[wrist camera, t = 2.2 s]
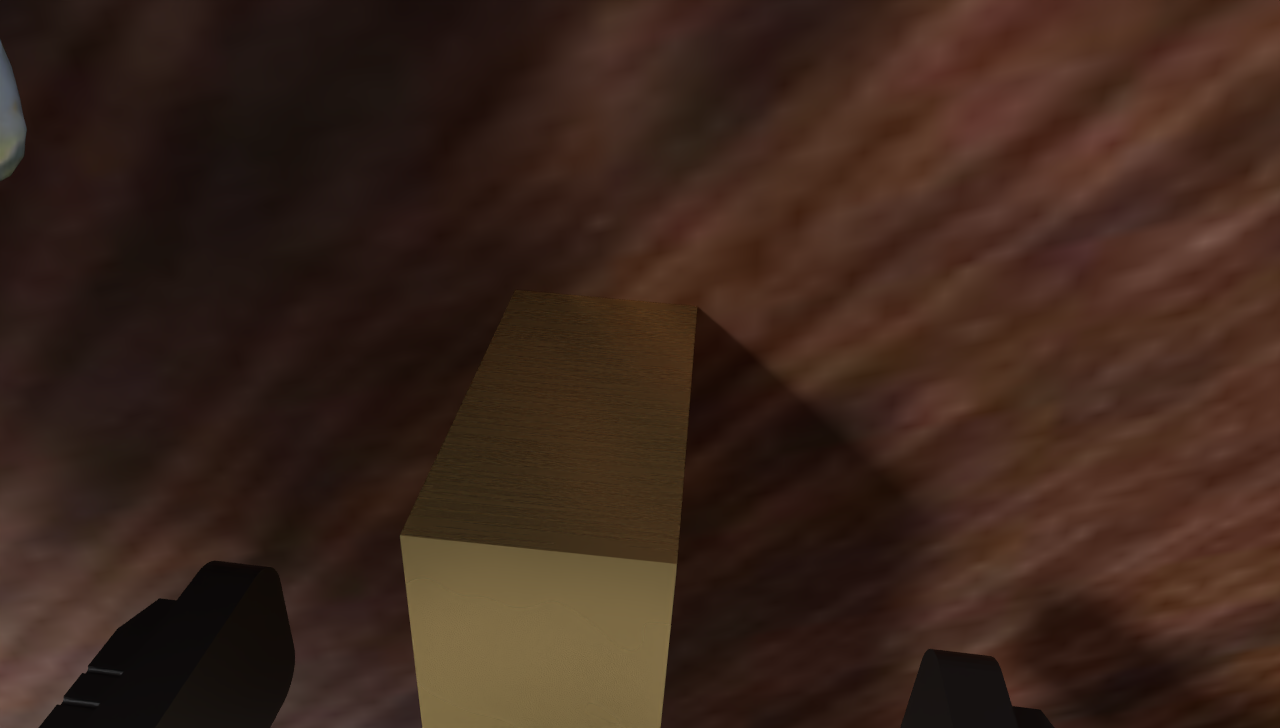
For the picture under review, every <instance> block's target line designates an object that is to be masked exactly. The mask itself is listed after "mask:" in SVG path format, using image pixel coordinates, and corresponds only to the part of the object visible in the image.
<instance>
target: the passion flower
mask: <svg viewBox="0 0 1280 728" xmlns="http://www.w3.org/2000/svg"><path fill="white" fill-rule="evenodd" d="M26 132H27V128H26V124H25V120H24V116H23V112H22V107H21V101H20V96H19V92H18V88H17V85H16V81H15V77H14V74H13V70H12V66H11V64H10V61H9V59H8V57H7V54H6V52H5V49H4V47H3V44H2V43H1V40H0V181H2V180H4V179H5V178H7V177H9V176H11V174H12V173H13V172H14V170H15V169H16V167H17V166H18V164H19V163H20V161H21V160H22V159H23V157H24V153H25V138H26Z"/></svg>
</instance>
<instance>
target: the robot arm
mask: <svg viewBox="0 0 1280 728" xmlns="http://www.w3.org/2000/svg"><path fill="white" fill-rule="evenodd" d="M294 665H295V650H294V644H293V640H292V635H291V630H290V625H289V621H288V616H287V611H286V606H285V601H284V597H283V592H282V587H281V582H280V578H279V575H278V573H277V571H276V570H275V569H273V568H271V567H263V566H254V565H246V564H238V563H229V562H221V561H211V562H209V563H207V564H206V565H205V566H203V567H202V568H201V569H200V571H199V572H198V573H197V574H196V576H195V577H194V578H193V580H192V581H191V582H190V584H189V585H188V586H187V588H186V589H185V590H184V592H183V593H182V594H181V596H180V597H179V598H178V600H177V601H176V600H168V599H160V598H159V599H158V600H157V601H155V602H154V603H153V604H151V605H150V606H148V607H147V608H146V609H144V610H143V611H141V612H140V613H139V614H137V615H136V616H134V617H133V618H132V619H130V620H129V621H128V622H126V623H125V624H123V625H122V626H121V627H119V628H118V629H117V630H116V631H115V633H114V634H113V635H112V636H111V638H110V639H109V640H108V641H107V643H106V644H105V645H104V646H103V648H102V649H101V650H100V651H99V653H98V654H97V655H96V656H95V658H94V659H93V660H92V662H91V663H90V664H89V665H88V671H87V672H86V673H82V674H81V675H80V677H79V678H78V679H77V680H76V682H75V683H74V684H73V685H72V687H71V688H70V689H69V690H68V692H67V693H66V694H65V695H64V700H63V702H62V704H61V705H56V707H55V708H54V709H53V710H52V712H51V713H50V714H49V715H48V717H47V718H46V719H45V720H44V722H43V723H42V724H41V725H40V727H39V728H270V727H271V725H272V723H273V721H274V719H275V718H276V716H277V714H278V712H279V710H280V708H281V706H282V705H283V703H284V700H285V698H286V696H287V694H288V691H289V688H290V685H291V681H292V677H293V672H294ZM901 728H1054V727H1053V725H1052V724H1051V723H1050V721H1049V720H1048V719H1047V717H1046V716H1045V715H1044V714H1043V712H1042V711H1041V710H1039V709H1031V708H1023V707H1015V706H1012V704H1011V701H1010V698H1009V694H1008V691H1007V688H1006V684H1005V681H1004V678H1003V674H1002V671H1001V668H1000V666H999V664H998V662H997V661H996V659H995V658H993V657H991V656H984V655H976V654H968V653H959V652H951V651H943V650H934V649H928V650H927V651H926V652H925V654H924V656H923V658H922V661H921V664H920V668H919V671H918V674H917V677H916V680H915V683H914V687H913V690H912V693H911V696H910V699H909V702H908V705H907V709H906V712H905V715H904V718H903V721H902V724H901Z"/></svg>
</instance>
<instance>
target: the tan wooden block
mask: <svg viewBox="0 0 1280 728" xmlns="http://www.w3.org/2000/svg"><path fill="white" fill-rule="evenodd" d="M696 316H697V306H688V305H677V304H666V303H655V302H644V301H633V300H621V299H610V298H599V297H588V296H577V295H566V294H555V293H544V292H533V291H522V290H515V292H514V294H513V296H512V298H511V300H510V302H509V304H508V306H507V309H506V311H505V313H504V315H503V317H502V319H501V321H500V323H499V326H498V328H497V330H496V332H495V334H494V336H493V338H492V340H491V343H490V345H489V347H488V349H487V351H486V353H485V355H484V357H483V360H482V362H481V364H480V366H479V368H478V370H477V372H476V374H475V377H474V379H473V381H472V383H471V385H470V387H469V389H468V392H467V394H466V396H465V398H464V400H463V402H462V404H461V406H460V409H459V411H458V413H457V415H456V417H455V419H454V421H453V423H452V426H451V428H450V430H449V432H448V434H447V436H446V438H445V440H444V443H443V445H442V447H441V449H440V451H439V453H438V455H437V457H436V460H435V462H434V464H433V466H432V468H431V470H430V472H429V474H428V477H427V479H426V481H425V483H424V485H423V487H422V489H421V491H420V494H419V496H418V498H417V500H416V502H415V504H414V506H413V508H412V511H411V513H410V515H409V517H408V519H407V521H406V523H405V525H404V528H403V530H402V532H401V534H400V541H401V549H402V558H403V566H404V575H405V583H406V592H407V600H408V609H409V617H410V626H411V635H412V643H413V652H414V660H415V669H416V677H417V686H418V694H419V703H420V711H421V720H422V728H660V727H661V717H662V707H663V698H664V688H665V678H666V668H667V658H668V648H669V638H670V628H671V618H672V609H673V599H674V589H675V579H676V569H677V558H678V545H679V532H680V519H681V507H682V494H683V481H684V469H685V456H686V443H687V430H688V418H689V405H690V392H691V380H692V367H693V354H694V341H695V329H696Z"/></svg>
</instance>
